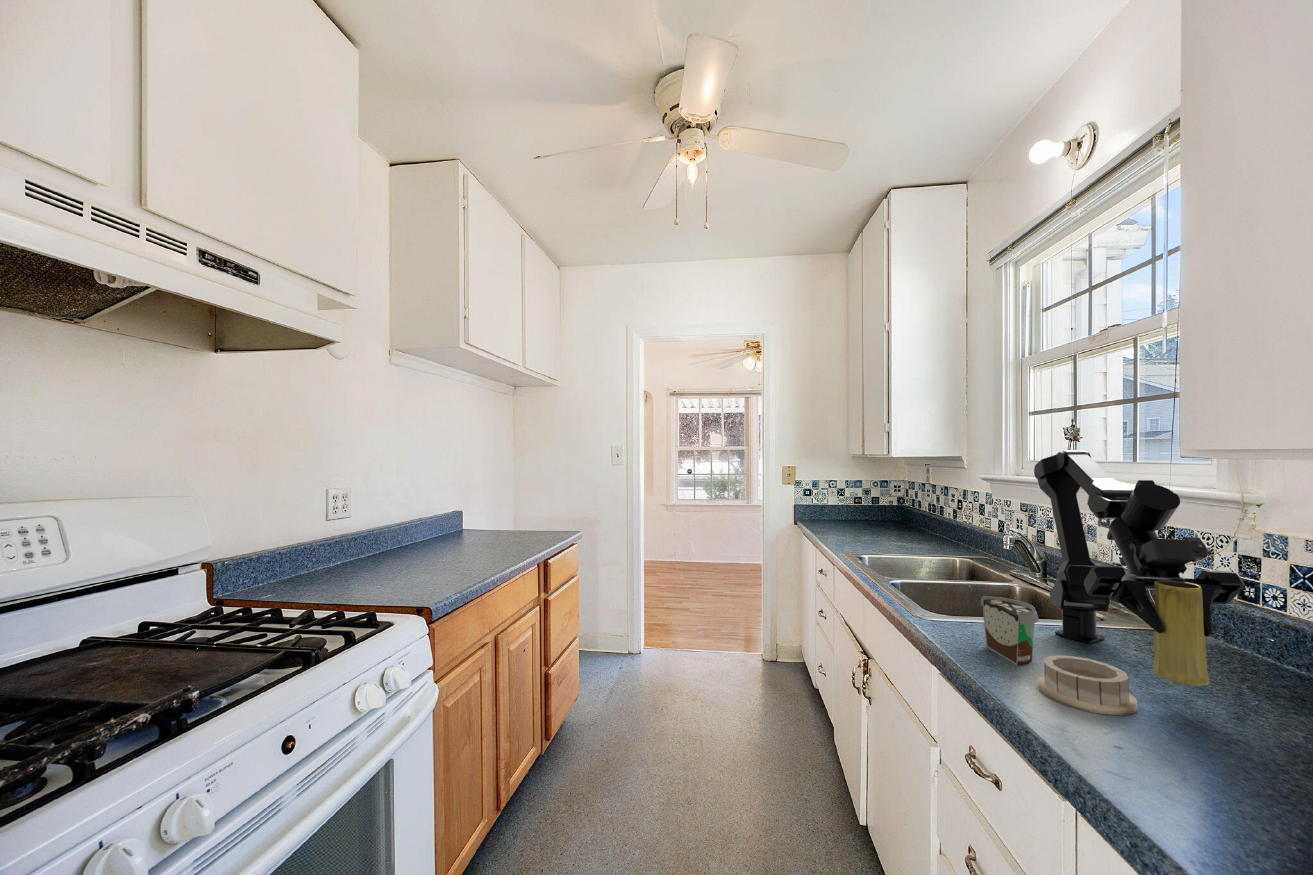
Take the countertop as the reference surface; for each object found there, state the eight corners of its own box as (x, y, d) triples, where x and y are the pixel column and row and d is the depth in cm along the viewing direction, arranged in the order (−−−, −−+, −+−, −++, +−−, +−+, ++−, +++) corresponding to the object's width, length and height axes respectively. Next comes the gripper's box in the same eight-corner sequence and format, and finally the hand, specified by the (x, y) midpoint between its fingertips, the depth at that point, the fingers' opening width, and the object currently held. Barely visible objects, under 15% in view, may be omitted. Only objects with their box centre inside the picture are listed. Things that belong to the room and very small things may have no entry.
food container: (1056, 668, 95) (1054, 613, 95) (1022, 668, 95) (1020, 613, 95) (1012, 644, 107) (1010, 595, 108) (981, 644, 107) (980, 595, 108)
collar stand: (1062, 674, 92) (1061, 648, 92) (1153, 704, 81) (1152, 674, 81) (1021, 688, 87) (1020, 661, 87) (1112, 722, 76) (1111, 691, 76)
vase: (1200, 674, 81) (1197, 581, 81) (1217, 689, 76) (1213, 591, 76) (1148, 666, 84) (1144, 577, 84) (1160, 680, 79) (1157, 585, 79)
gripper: (1089, 516, 87) (1128, 601, 76) (1233, 520, 81) (1298, 612, 70) (1069, 554, 94) (1103, 637, 83) (1200, 560, 89) (1254, 649, 78)
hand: (1184, 633), depth 79 cm, fingers closed on vase, 5 cm apart
